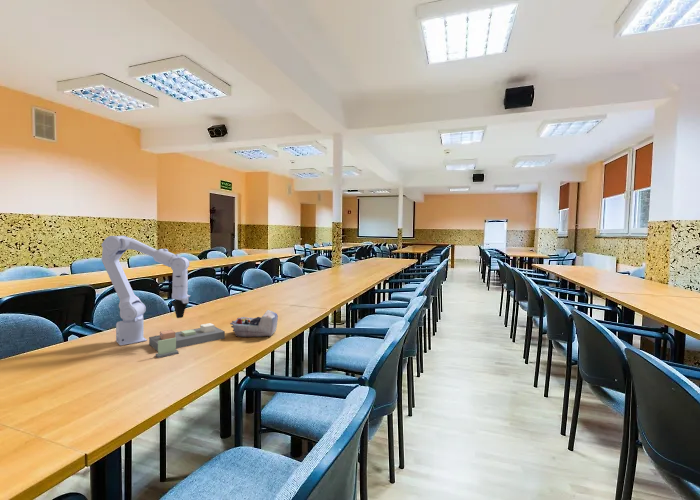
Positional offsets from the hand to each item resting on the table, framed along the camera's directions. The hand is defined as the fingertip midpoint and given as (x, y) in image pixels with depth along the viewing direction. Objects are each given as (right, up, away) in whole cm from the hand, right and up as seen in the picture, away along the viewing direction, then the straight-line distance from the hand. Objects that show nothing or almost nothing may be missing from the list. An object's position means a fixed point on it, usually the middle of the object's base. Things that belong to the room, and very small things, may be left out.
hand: (179, 317), depth 144 cm
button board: (+4, -10, -2) cm, 11 cm away
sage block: (+4, -9, -2) cm, 11 cm away
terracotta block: (-1, -8, -7) cm, 11 cm away
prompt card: (+4, -10, -17) cm, 21 cm away
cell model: (+29, -10, +10) cm, 32 cm away
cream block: (+10, -8, +4) cm, 13 cm away
